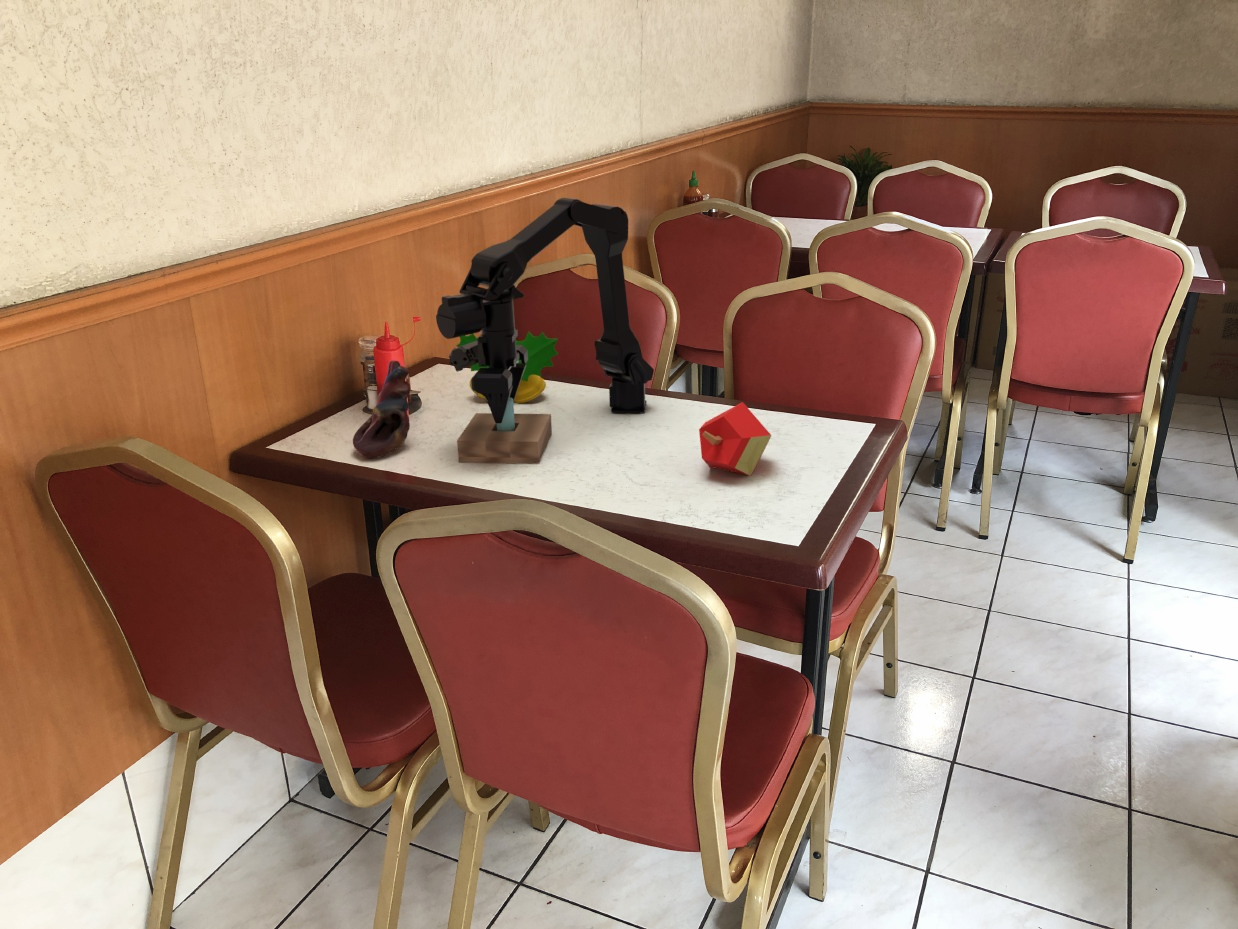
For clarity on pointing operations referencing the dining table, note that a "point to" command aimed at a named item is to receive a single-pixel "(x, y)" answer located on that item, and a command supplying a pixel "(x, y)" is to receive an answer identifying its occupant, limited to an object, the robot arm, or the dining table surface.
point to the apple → (733, 440)
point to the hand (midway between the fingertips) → (504, 414)
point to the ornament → (538, 358)
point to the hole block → (505, 439)
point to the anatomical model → (386, 417)
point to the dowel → (508, 418)
